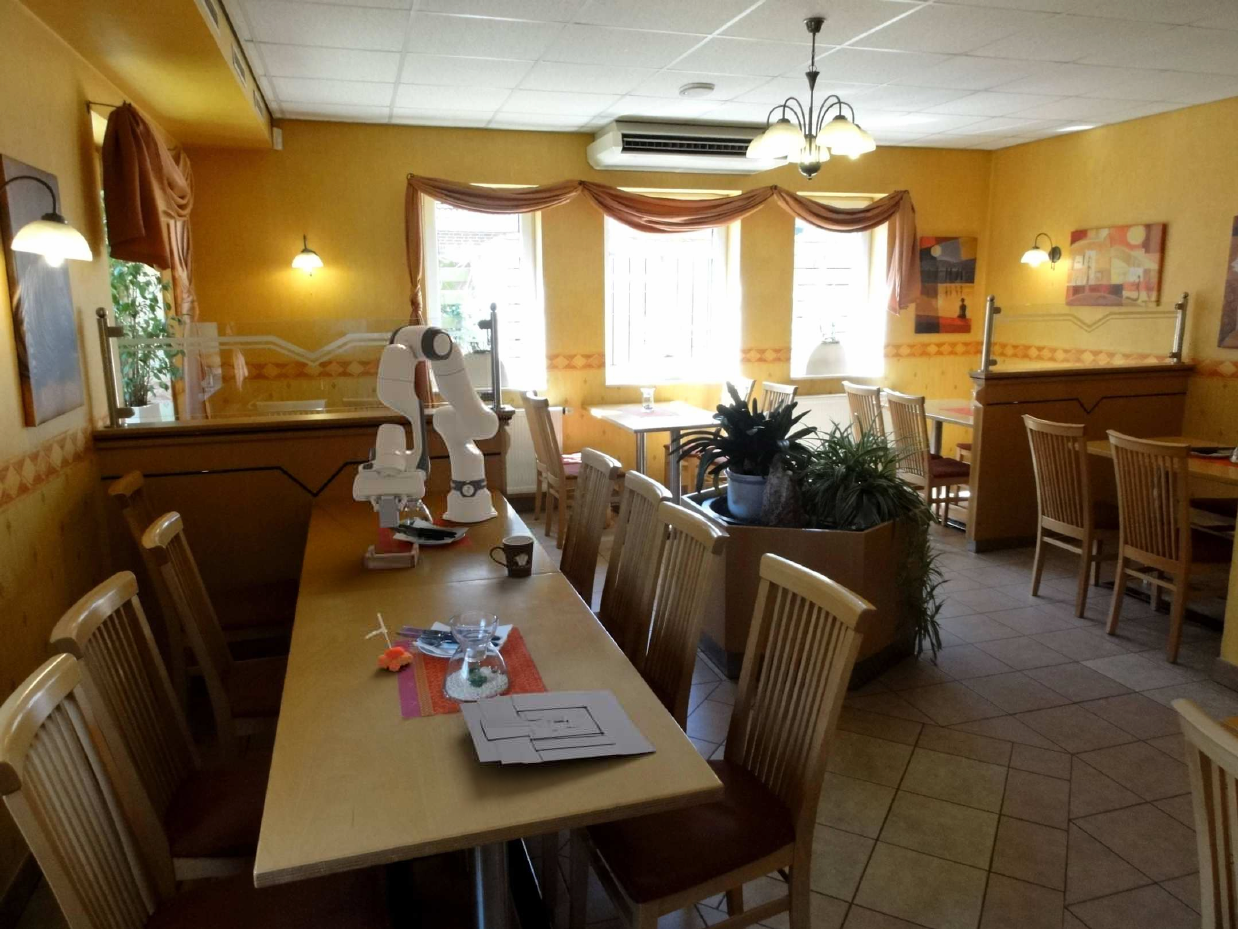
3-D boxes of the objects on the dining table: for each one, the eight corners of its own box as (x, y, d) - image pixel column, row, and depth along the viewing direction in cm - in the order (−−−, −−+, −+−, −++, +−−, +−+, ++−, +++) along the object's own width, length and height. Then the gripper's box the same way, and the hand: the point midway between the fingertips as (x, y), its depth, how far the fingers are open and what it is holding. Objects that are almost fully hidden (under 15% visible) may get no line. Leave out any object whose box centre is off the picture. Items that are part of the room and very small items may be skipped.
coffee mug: (538, 569, 236) (536, 535, 234) (532, 580, 228) (530, 545, 226) (497, 568, 238) (496, 535, 235) (490, 579, 229) (488, 544, 227)
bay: (371, 556, 250) (370, 545, 249) (419, 554, 252) (418, 542, 251) (364, 569, 238) (364, 558, 238) (415, 566, 240) (414, 555, 239)
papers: (456, 712, 155) (457, 694, 155) (608, 702, 166) (610, 685, 165) (481, 784, 133) (482, 762, 132) (655, 766, 143) (657, 746, 143)
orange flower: (365, 666, 178) (360, 613, 175) (410, 657, 182) (406, 605, 179) (370, 678, 172) (365, 623, 170) (416, 668, 176) (412, 614, 174)
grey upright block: (381, 524, 244) (379, 494, 242) (399, 523, 245) (397, 494, 243) (380, 527, 241) (378, 497, 239) (398, 526, 241) (396, 496, 240)
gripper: (426, 474, 253) (426, 514, 245) (356, 477, 250) (354, 517, 242) (424, 462, 248) (424, 503, 240) (353, 465, 245) (350, 506, 237)
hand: (388, 510), depth 241 cm, fingers closed on grey upright block, 5 cm apart
